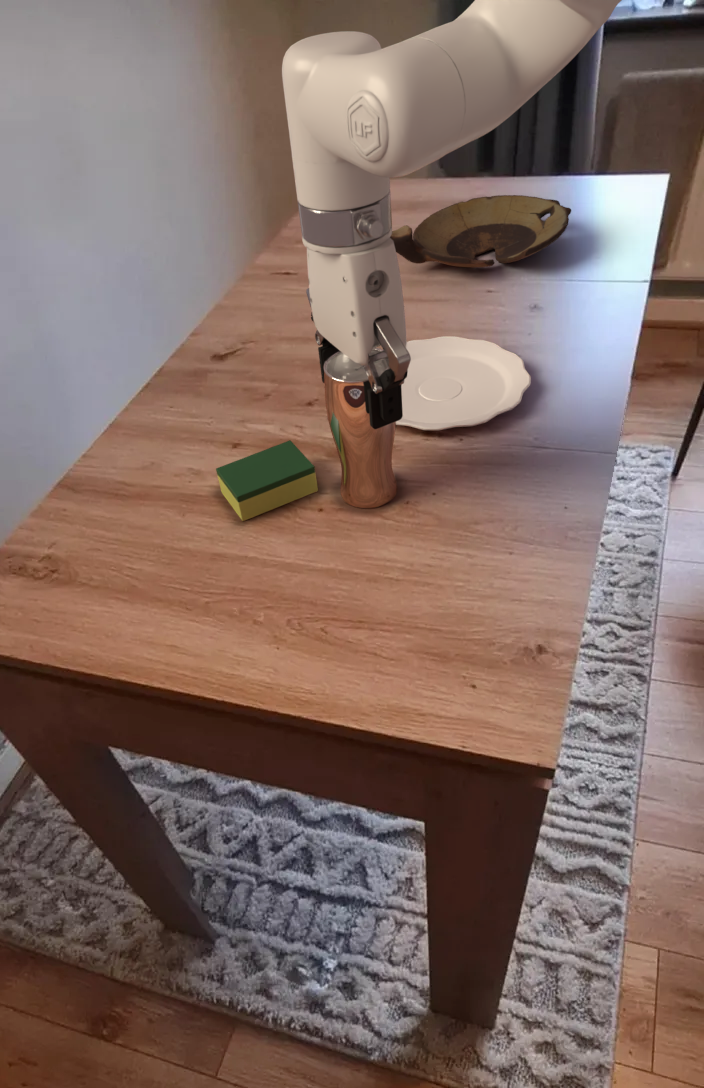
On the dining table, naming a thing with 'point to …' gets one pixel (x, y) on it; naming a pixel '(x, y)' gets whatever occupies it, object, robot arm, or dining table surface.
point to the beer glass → (358, 433)
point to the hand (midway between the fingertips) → (361, 400)
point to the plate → (459, 383)
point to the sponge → (267, 480)
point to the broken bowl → (484, 231)
